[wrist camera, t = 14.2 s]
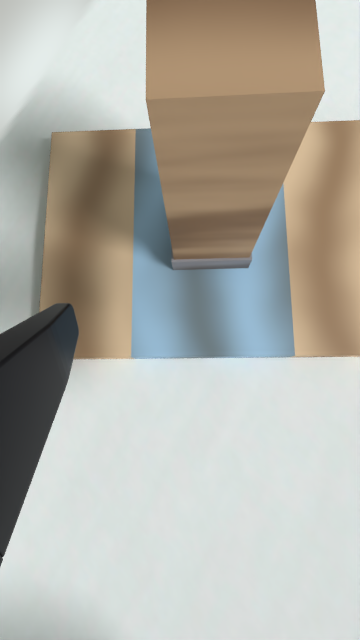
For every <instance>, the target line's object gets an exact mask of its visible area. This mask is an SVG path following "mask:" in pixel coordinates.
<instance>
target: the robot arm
mask: <svg viewBox="0 0 360 640" xmlns="http://www.w3.org/2000/svg"><path fill="white" fill-rule="evenodd" d="M78 336H79V328H78V324H77V320H76V316H75V312H74V308H73V306H72V305H71V304H70V303H56V304H54V305H52V306H50V307H48V308H46V309H45V310H43V311H41V312H39V313H37V314H36V315H34V316H32V317H30V318H28V319H27V320H25V321H23V322H21V323H19V324H18V325H16V326H14V327H12V328H10V329H9V330H7V331H5V332H3V333H1V334H0V566H1V563H2V561H3V558H2V557H3V556H4V555H5V552H6V549H7V546H8V544H9V541H10V538H11V535H12V533H13V530H14V527H15V525H16V522H17V519H18V516H19V514H20V511H21V508H22V505H23V503H24V500H25V497H26V494H27V492H28V489H29V486H30V484H31V481H32V478H33V475H34V473H35V470H36V467H37V464H38V462H39V459H40V456H41V454H42V451H43V448H44V445H45V443H46V440H47V437H48V434H49V432H50V429H51V426H52V423H53V421H54V418H55V415H56V413H57V410H58V407H59V404H60V402H61V399H62V396H63V393H64V391H65V388H66V385H67V382H68V379H69V375H70V371H71V366H72V362H73V358H74V353H75V349H76V345H77V340H78Z"/></svg>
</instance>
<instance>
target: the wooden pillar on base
mask: <svg viewBox="0 0 360 640" xmlns="http://www.w3.org/2000/svg"><path fill="white" fill-rule="evenodd" d="M324 92H325V88H324V79H323V69H322V60H321V50H320V40H319V31H318V21H317V11H316V2H315V0H147V13H146V103H147V109H148V115H149V120H150V126H151V132H152V137H153V143H154V149H155V154H156V160H157V166H158V171H159V177H160V183H161V188H162V194H163V200H164V205H165V211H166V217H167V222H168V228H169V234H170V239H171V255H172V267H173V270H197V269H235V268H249V265H250V263H251V261H252V251H253V249H254V247H255V244H256V242H257V240H258V238H259V235H260V233H261V231H262V229H263V227H264V224H265V222H266V220H267V218H268V216H269V213H270V211H271V209H272V207H273V204H274V202H275V200H276V198H277V196H278V193H279V191H280V189H281V187H282V185H283V182H284V180H285V178H286V176H287V173H288V171H289V169H290V167H291V165H292V162H293V160H294V158H295V156H296V154H297V151H298V149H299V147H300V145H301V142H302V140H303V138H304V136H305V134H306V131H307V129H308V127H309V125H310V123H311V120H312V118H313V116H314V114H315V111H316V109H317V107H318V105H319V103H320V100H321V98H322V96H323V94H324Z"/></svg>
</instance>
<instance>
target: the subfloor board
mask: <svg viewBox="0 0 360 640" xmlns="http://www.w3.org/2000/svg"><path fill="white" fill-rule="evenodd" d="M56 303H70V304H71V305H72V306H73V308H74V312H75V316H76V320H77V324H78V328H79V336H78V340H77V345H76V349H75V353H74V358H73V359H143V358H253V357H360V120H354V121H329V122H311V123H310V125H309V127H308V129H307V131H306V134H305V136H304V138H303V140H302V142H301V145H300V147H299V149H298V151H297V154H296V156H295V158H294V160H293V162H292V165H291V167H290V169H289V171H288V173H287V176H286V178H285V180H284V182H283V185H282V187H281V189H280V191H279V193H278V196H277V198H276V200H275V202H274V204H273V207H272V209H271V211H270V213H269V216H268V218H267V220H266V222H265V224H264V227H263V229H262V231H261V233H260V235H259V238H258V240H257V242H256V244H255V247H254V249H253V251H252V261H251V263H250V265H249V268H235V269H197V270H173V267H172V255H171V239H170V234H169V228H168V222H167V217H166V211H165V205H164V200H163V194H162V188H161V183H160V177H159V171H158V166H157V160H156V154H155V149H154V143H153V137H152V132H151V129H126V130H100V131H75V132H52V138H51V152H50V166H49V181H48V195H47V209H46V223H45V237H44V252H43V266H42V280H41V294H40V309H39V312H41V311H43V310H45V309H46V308H48V307H50V306H52V305H54V304H56Z"/></svg>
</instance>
